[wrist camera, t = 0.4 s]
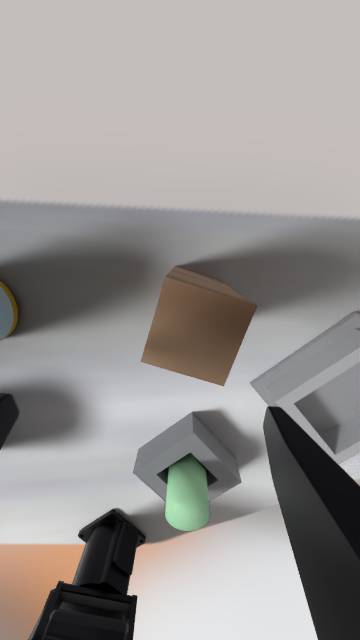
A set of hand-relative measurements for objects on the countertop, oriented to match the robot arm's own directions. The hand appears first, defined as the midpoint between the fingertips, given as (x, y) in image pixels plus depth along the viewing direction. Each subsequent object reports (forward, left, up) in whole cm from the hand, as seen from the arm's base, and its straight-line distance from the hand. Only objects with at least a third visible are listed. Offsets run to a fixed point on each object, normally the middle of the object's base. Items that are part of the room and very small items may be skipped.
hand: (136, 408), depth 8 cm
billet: (+3, 0, -15) cm, 15 cm away
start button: (-9, -14, -13) cm, 21 cm away
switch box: (-9, -14, -15) cm, 23 cm away
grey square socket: (+8, -17, -15) cm, 24 cm away
